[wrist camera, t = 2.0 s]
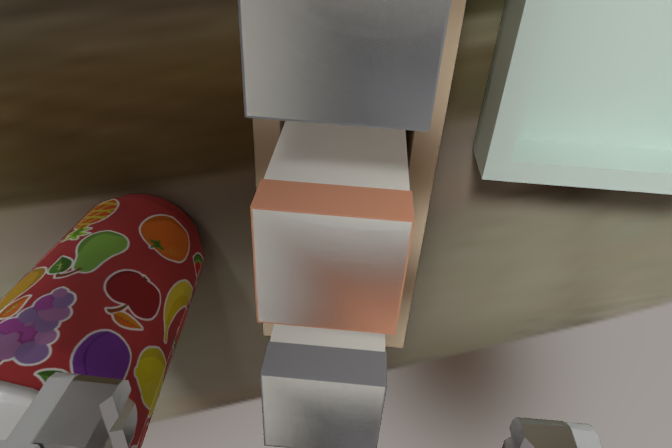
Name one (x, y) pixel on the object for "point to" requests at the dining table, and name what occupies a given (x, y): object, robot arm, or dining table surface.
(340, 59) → the block
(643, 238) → the dining table surface
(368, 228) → the block
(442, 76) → the socket strip
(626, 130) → the tray
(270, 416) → the block
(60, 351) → the smoothie
